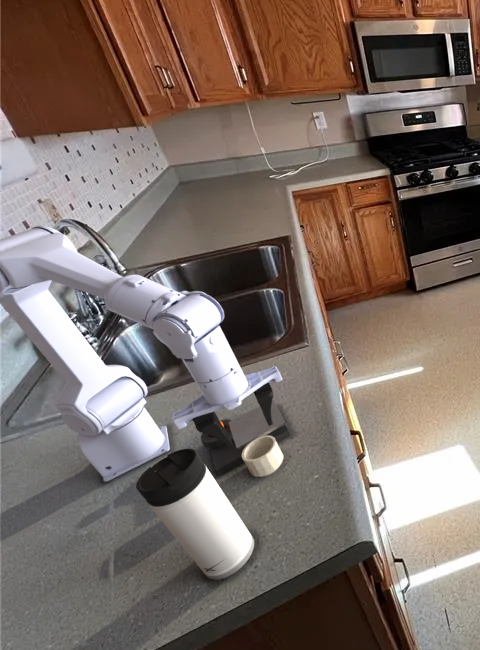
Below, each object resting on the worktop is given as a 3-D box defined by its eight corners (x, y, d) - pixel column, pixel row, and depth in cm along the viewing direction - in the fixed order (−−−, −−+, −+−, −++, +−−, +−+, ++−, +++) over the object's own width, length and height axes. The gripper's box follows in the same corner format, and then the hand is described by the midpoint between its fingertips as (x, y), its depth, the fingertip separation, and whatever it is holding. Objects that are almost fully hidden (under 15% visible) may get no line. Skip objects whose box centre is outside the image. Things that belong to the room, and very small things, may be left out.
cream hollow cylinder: (255, 484, 70) (245, 467, 68) (248, 465, 73) (238, 447, 71) (287, 465, 72) (279, 448, 70) (279, 447, 76) (271, 430, 74)
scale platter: (237, 450, 73) (236, 447, 72) (229, 424, 78) (228, 422, 78) (285, 424, 77) (284, 422, 77) (274, 401, 82) (273, 399, 82)
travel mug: (220, 591, 56) (146, 500, 46) (197, 565, 59) (123, 474, 49) (264, 548, 60) (205, 457, 51) (241, 526, 63) (181, 436, 54)
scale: (214, 478, 71) (207, 466, 70) (205, 441, 79) (198, 430, 77) (291, 435, 78) (285, 424, 77) (276, 405, 86) (271, 394, 84)
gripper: (159, 410, 56) (203, 475, 62) (274, 358, 64) (302, 420, 70) (155, 384, 61) (196, 447, 67) (263, 339, 69) (290, 399, 75)
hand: (250, 432), depth 69 cm, fingers open, 5 cm apart
